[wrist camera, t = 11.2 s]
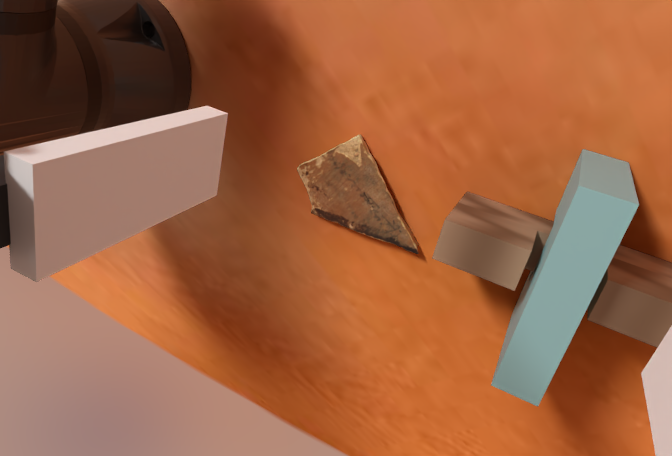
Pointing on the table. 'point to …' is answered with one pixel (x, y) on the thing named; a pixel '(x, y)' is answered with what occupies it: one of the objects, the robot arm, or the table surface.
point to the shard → (355, 194)
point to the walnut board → (524, 251)
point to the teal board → (566, 274)
